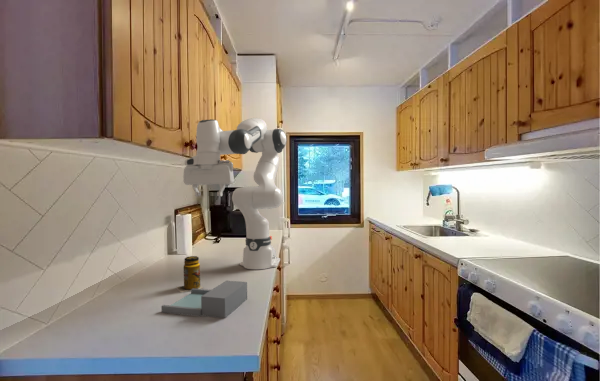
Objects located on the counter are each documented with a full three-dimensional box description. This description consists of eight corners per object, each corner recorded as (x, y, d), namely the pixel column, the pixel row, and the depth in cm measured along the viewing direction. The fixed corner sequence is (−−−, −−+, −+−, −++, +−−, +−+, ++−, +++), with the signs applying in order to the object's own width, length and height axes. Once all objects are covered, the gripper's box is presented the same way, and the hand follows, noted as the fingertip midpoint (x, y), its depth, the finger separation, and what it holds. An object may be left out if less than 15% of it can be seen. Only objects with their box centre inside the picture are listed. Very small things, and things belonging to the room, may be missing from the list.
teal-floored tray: (192, 293, 116) (192, 277, 116) (247, 298, 110) (247, 281, 110) (161, 312, 99) (161, 293, 99) (224, 318, 94) (223, 299, 94)
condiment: (203, 288, 122) (202, 257, 121) (180, 293, 117) (179, 261, 117) (198, 283, 128) (197, 254, 127) (176, 287, 123) (175, 257, 123)
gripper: (236, 160, 123) (236, 196, 123) (190, 162, 128) (190, 196, 128) (229, 159, 117) (229, 196, 117) (180, 160, 122) (181, 196, 122)
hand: (208, 196), depth 122 cm, fingers open, 8 cm apart
